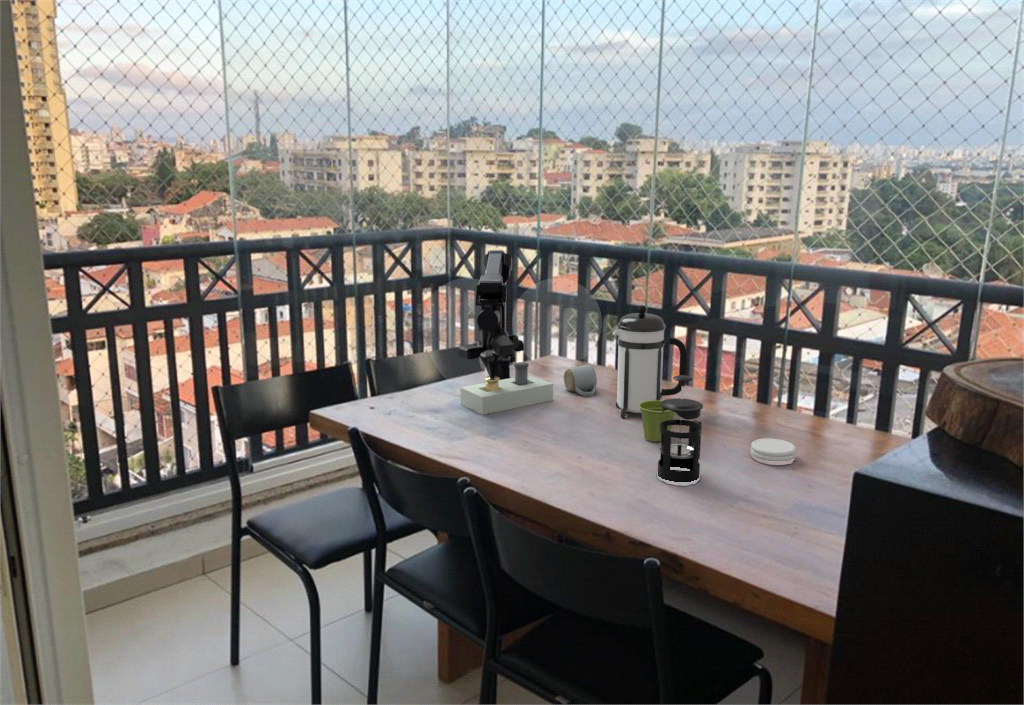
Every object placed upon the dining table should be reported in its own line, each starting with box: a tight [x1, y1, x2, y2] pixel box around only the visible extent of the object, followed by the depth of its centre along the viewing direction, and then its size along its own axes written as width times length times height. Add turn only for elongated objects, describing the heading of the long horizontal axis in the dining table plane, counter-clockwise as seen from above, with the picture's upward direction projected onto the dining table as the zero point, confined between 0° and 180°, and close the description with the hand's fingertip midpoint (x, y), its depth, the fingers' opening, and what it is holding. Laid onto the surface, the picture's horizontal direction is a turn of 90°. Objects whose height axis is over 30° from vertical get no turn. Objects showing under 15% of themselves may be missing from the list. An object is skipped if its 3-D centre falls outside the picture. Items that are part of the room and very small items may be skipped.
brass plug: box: [484, 375, 500, 392], centre depth 224 cm, size 4×4×8 cm
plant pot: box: [639, 400, 676, 442], centre depth 196 cm, size 9×9×9 cm
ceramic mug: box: [563, 363, 598, 397], centre depth 237 cm, size 11×8×8 cm
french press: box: [657, 374, 704, 482], centre depth 171 cm, size 12×9×23 cm
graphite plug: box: [513, 361, 529, 386], centre depth 229 cm, size 4×4×8 cm
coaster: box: [750, 437, 797, 461], centre depth 184 cm, size 10×10×4 cm
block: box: [459, 374, 554, 415], centre depth 228 cm, size 12×24×5 cm, turn 123°
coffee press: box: [612, 304, 688, 419], centre depth 215 cm, size 17×16×30 cm
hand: (492, 377), depth 224 cm, fingers closed, pressing on brass plug
